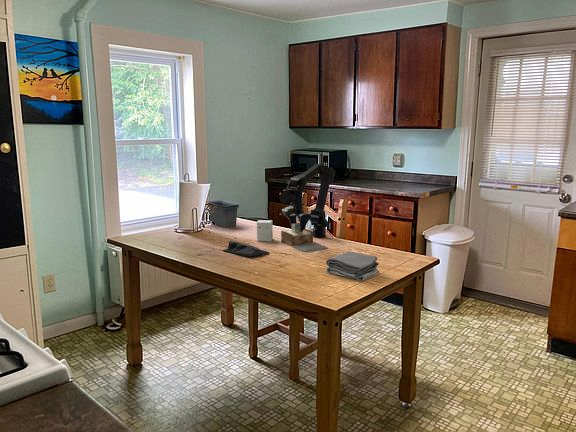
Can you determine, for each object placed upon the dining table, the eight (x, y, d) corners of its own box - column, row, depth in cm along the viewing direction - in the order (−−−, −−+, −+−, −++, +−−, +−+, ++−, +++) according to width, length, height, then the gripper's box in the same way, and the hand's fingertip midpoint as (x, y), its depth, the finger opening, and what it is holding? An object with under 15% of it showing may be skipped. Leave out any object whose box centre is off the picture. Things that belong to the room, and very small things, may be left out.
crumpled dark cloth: (247, 260, 215) (247, 250, 214) (220, 251, 231) (220, 242, 230) (272, 254, 225) (272, 245, 224) (245, 246, 241) (245, 237, 240)
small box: (272, 238, 255) (272, 220, 253) (271, 241, 249) (271, 222, 247) (258, 238, 255) (258, 220, 253) (256, 241, 250) (256, 222, 248)
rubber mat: (314, 243, 245) (314, 242, 244) (327, 248, 234) (327, 247, 234) (292, 246, 238) (292, 245, 237) (304, 252, 227) (304, 251, 227)
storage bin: (242, 225, 288) (242, 203, 285) (222, 229, 278) (221, 206, 275) (222, 221, 303) (221, 199, 300) (202, 224, 293) (201, 202, 290)
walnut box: (301, 238, 254) (302, 227, 253) (313, 243, 245) (313, 231, 244) (281, 241, 248) (281, 230, 247) (291, 246, 239) (291, 234, 237)
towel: (344, 265, 207) (345, 248, 205) (381, 274, 195) (381, 256, 193) (324, 273, 195) (325, 255, 194) (361, 283, 184) (362, 264, 182)
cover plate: (300, 230, 253) (301, 221, 252) (311, 234, 244) (311, 224, 243) (283, 232, 247) (283, 223, 246) (292, 236, 239) (293, 226, 238)
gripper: (275, 200, 246) (275, 228, 249) (293, 205, 230) (293, 235, 233) (293, 198, 252) (292, 226, 255) (311, 203, 236) (311, 232, 239)
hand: (297, 230), depth 245 cm, fingers open, 9 cm apart
